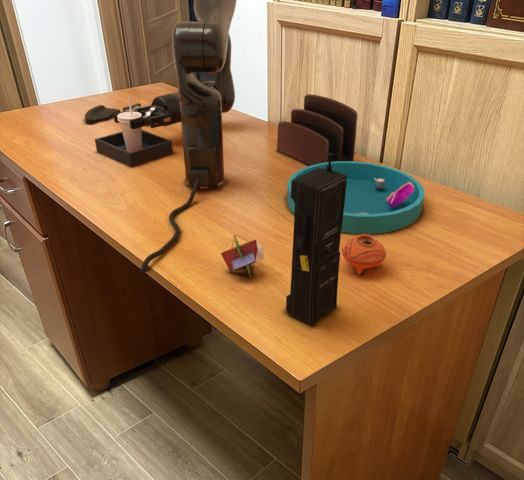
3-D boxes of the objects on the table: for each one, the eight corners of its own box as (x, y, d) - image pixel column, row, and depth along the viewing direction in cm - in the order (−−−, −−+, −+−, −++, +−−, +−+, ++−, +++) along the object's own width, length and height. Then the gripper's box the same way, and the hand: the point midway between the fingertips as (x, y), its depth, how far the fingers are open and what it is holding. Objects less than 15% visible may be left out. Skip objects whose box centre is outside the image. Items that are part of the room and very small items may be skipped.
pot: (374, 252, 102) (383, 224, 97) (385, 281, 98) (395, 254, 92) (334, 253, 101) (340, 225, 96) (343, 283, 97) (350, 256, 91)
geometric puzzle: (213, 272, 93) (240, 238, 89) (212, 252, 98) (238, 219, 94) (246, 291, 96) (274, 259, 92) (244, 271, 101) (269, 240, 97)
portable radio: (309, 330, 84) (322, 176, 68) (280, 315, 87) (286, 164, 71) (338, 309, 88) (357, 159, 72) (309, 295, 91) (321, 149, 75)
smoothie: (144, 157, 141) (136, 100, 132) (120, 156, 141) (111, 100, 132) (149, 148, 145) (141, 93, 136) (125, 148, 146) (117, 93, 137)
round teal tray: (424, 240, 107) (430, 213, 103) (277, 226, 111) (278, 199, 107) (418, 182, 129) (423, 157, 126) (296, 172, 133) (297, 148, 130)
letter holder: (304, 143, 150) (307, 89, 141) (353, 164, 138) (360, 107, 129) (276, 150, 145) (277, 95, 136) (325, 173, 133) (330, 114, 124)
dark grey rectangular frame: (173, 153, 143) (171, 140, 141) (131, 167, 135) (129, 153, 133) (138, 139, 151) (136, 127, 149) (96, 151, 143) (94, 139, 141)
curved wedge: (74, 122, 163) (72, 116, 162) (100, 110, 172) (99, 104, 171) (96, 125, 160) (95, 119, 159) (122, 113, 170) (121, 107, 169)
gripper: (155, 88, 147) (103, 100, 138) (189, 99, 139) (137, 112, 130) (158, 117, 152) (109, 130, 142) (191, 128, 144) (141, 143, 135)
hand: (122, 121), depth 136 cm, fingers closed on smoothie, 6 cm apart
